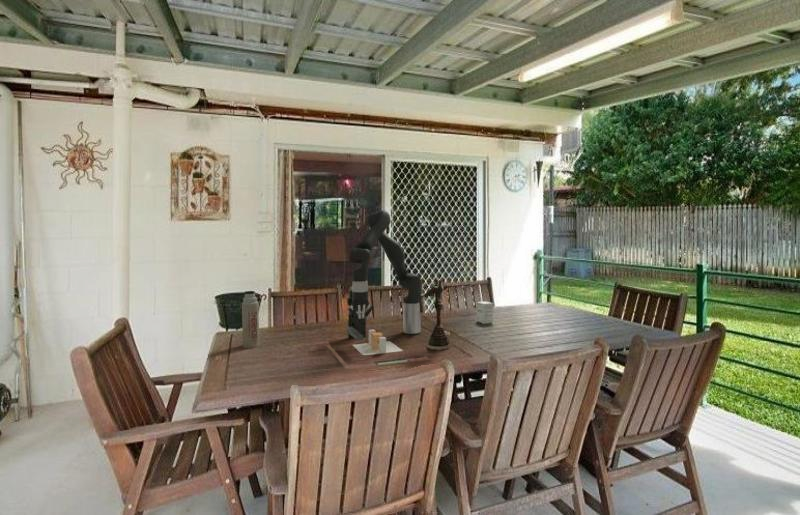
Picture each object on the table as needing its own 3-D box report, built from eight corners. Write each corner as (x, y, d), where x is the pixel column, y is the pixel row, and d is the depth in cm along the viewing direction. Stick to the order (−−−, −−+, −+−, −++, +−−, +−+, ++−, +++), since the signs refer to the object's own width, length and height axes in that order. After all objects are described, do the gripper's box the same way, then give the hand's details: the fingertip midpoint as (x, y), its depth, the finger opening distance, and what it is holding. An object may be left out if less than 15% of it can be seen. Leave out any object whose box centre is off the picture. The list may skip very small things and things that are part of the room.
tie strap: (352, 330, 230) (352, 326, 230) (363, 339, 213) (363, 335, 213) (346, 331, 229) (346, 327, 229) (356, 340, 212) (356, 336, 211)
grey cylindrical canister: (476, 321, 290) (476, 301, 289) (486, 320, 294) (486, 301, 292) (483, 324, 284) (483, 303, 283) (493, 322, 287) (493, 302, 286)
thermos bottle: (260, 346, 233) (259, 291, 231) (244, 348, 229) (242, 293, 227) (257, 342, 240) (256, 289, 238) (241, 344, 236) (240, 290, 234)
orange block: (379, 346, 229) (379, 332, 228) (385, 350, 222) (385, 335, 221) (371, 347, 227) (371, 333, 226) (376, 351, 220) (376, 336, 220)
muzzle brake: (349, 340, 245) (368, 339, 248) (348, 288, 243) (368, 287, 246) (346, 336, 254) (364, 334, 257) (345, 285, 252) (364, 285, 255)
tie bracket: (389, 343, 238) (389, 327, 238) (403, 353, 221) (403, 336, 220) (352, 347, 231) (352, 331, 230) (363, 358, 213) (363, 340, 213)
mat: (399, 356, 217) (399, 354, 217) (407, 362, 208) (407, 360, 208) (371, 359, 212) (371, 357, 212) (378, 365, 203) (378, 363, 203)
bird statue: (414, 344, 238) (414, 276, 235) (434, 340, 245) (434, 275, 243) (433, 351, 225) (434, 280, 222) (454, 347, 232) (455, 278, 229)
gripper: (370, 288, 226) (371, 322, 228) (344, 290, 221) (345, 325, 223) (375, 290, 219) (376, 326, 221) (348, 292, 214) (349, 328, 216)
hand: (360, 325), depth 222 cm, fingers closed
